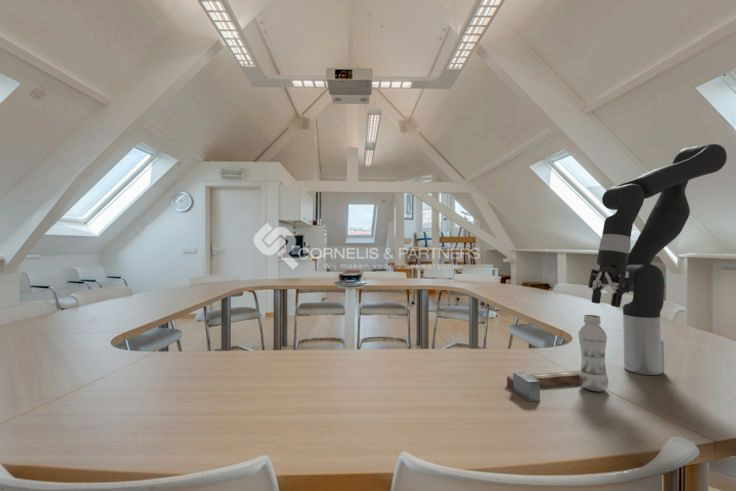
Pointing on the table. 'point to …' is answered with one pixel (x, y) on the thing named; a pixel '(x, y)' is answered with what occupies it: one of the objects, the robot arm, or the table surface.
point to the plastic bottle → (593, 354)
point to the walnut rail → (552, 378)
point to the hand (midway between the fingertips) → (604, 304)
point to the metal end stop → (526, 386)
